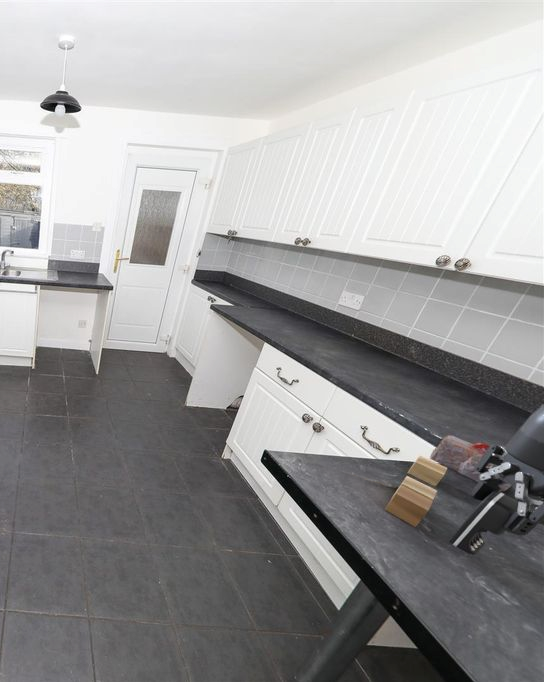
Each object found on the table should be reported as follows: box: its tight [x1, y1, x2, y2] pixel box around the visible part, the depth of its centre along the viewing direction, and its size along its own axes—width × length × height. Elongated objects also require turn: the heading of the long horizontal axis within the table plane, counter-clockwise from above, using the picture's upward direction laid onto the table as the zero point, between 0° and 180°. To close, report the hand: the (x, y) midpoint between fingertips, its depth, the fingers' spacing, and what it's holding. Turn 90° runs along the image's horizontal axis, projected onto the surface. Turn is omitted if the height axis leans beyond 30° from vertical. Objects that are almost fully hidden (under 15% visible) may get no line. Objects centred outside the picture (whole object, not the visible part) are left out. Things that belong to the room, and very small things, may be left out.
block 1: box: [407, 455, 448, 487], centre depth 85 cm, size 5×5×5 cm
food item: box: [429, 434, 512, 492], centre depth 87 cm, size 14×8×10 cm, turn 31°
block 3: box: [384, 484, 434, 528], centre depth 73 cm, size 5×5×5 cm
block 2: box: [390, 475, 438, 502], centre depth 77 cm, size 5×5×5 cm
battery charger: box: [448, 491, 518, 555], centre depth 59 cm, size 7×4×11 cm, turn 114°
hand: (494, 514), depth 59 cm, fingers closed on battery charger, 7 cm apart
